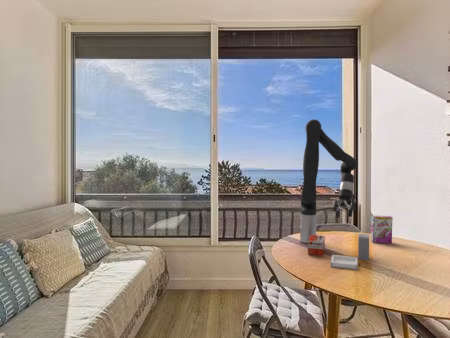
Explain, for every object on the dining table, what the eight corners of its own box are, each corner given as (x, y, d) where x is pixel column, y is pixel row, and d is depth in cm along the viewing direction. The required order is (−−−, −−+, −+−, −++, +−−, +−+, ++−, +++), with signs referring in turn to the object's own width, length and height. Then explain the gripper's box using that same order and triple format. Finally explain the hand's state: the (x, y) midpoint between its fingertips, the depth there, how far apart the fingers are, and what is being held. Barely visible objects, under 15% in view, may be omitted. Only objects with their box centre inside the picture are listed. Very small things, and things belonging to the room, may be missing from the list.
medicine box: (323, 256, 174) (323, 241, 174) (307, 255, 177) (307, 240, 177) (324, 249, 188) (324, 235, 188) (310, 248, 191) (310, 234, 191)
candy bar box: (373, 243, 201) (373, 216, 200) (370, 241, 206) (370, 215, 205) (392, 243, 199) (392, 216, 199) (389, 241, 204) (389, 215, 204)
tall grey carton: (358, 259, 169) (358, 236, 169) (358, 256, 175) (358, 233, 174) (368, 260, 167) (369, 236, 167) (368, 257, 173) (368, 234, 173)
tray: (330, 266, 158) (330, 262, 158) (332, 259, 170) (332, 254, 170) (357, 269, 153) (357, 265, 153) (357, 261, 165) (357, 257, 165)
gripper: (332, 190, 198) (329, 216, 192) (351, 186, 186) (349, 214, 180) (341, 194, 201) (338, 220, 195) (360, 191, 189) (358, 218, 183)
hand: (343, 217), depth 188 cm, fingers open, 8 cm apart
